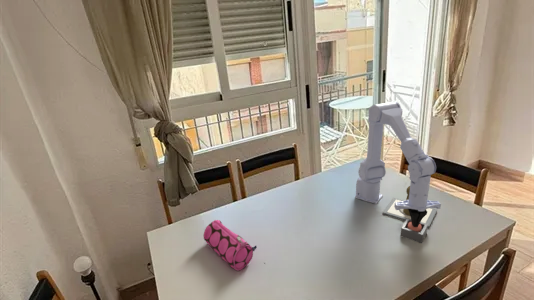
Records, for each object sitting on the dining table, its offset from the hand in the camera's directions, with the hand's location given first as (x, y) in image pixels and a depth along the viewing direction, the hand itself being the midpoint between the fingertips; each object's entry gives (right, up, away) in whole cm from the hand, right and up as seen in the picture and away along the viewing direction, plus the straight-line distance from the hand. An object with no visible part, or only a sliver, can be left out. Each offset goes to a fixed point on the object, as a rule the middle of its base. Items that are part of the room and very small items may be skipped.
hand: (414, 225), depth 109 cm
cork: (+5, +2, +12) cm, 13 cm away
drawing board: (+4, +2, +14) cm, 14 cm away
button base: (0, -3, +1) cm, 4 cm away
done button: (0, -2, +1) cm, 2 cm away
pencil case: (-66, -10, 0) cm, 66 cm away
